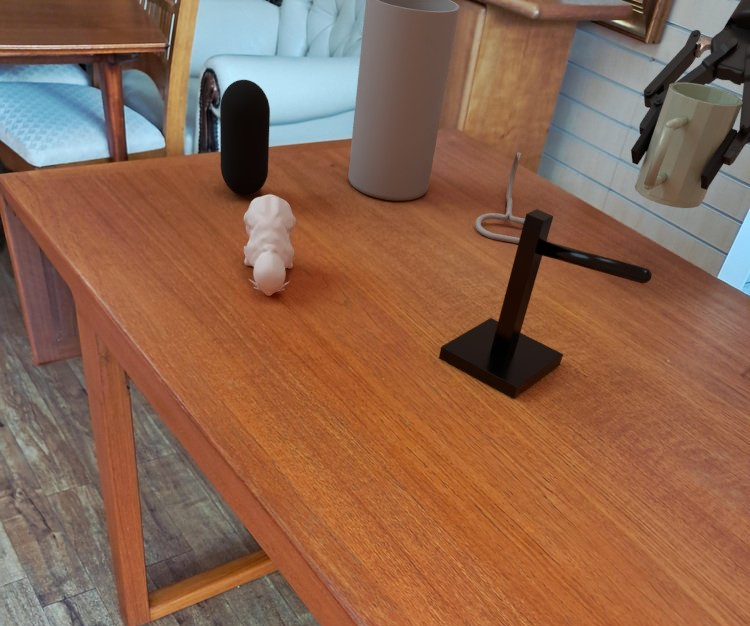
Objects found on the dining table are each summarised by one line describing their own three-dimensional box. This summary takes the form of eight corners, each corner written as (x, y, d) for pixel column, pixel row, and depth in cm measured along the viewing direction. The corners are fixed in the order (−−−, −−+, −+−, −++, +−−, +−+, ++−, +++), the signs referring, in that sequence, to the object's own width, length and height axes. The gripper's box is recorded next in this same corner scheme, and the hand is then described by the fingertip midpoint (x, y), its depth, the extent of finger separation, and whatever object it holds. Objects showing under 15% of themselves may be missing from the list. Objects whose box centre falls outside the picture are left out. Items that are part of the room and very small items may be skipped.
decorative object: (259, 183, 117) (261, 72, 107) (273, 202, 113) (277, 88, 102) (215, 185, 114) (214, 72, 104) (228, 204, 110) (228, 88, 100)
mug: (651, 176, 106) (686, 78, 98) (711, 198, 102) (752, 99, 94) (606, 197, 98) (640, 93, 90) (670, 222, 94) (711, 116, 86)
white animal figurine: (297, 190, 95) (300, 244, 87) (293, 253, 101) (295, 309, 93) (244, 185, 94) (241, 239, 86) (243, 250, 100) (241, 305, 92)
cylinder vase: (331, 177, 122) (347, -11, 105) (389, 165, 129) (413, -14, 112) (386, 208, 116) (412, 14, 99) (443, 194, 123) (478, 9, 106)
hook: (538, 192, 127) (533, 262, 114) (480, 181, 127) (469, 250, 115) (550, 147, 121) (547, 217, 109) (490, 137, 122) (480, 204, 109)
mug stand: (438, 358, 88) (469, 208, 76) (488, 328, 94) (524, 186, 82) (575, 432, 80) (632, 279, 69) (619, 395, 87) (678, 249, 75)
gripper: (853, 56, 95) (749, 216, 96) (689, 12, 104) (595, 159, 105) (866, 8, 88) (754, 182, 89) (689, -35, 97) (588, 123, 98)
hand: (668, 169), depth 97 cm, fingers closed on mug, 9 cm apart
